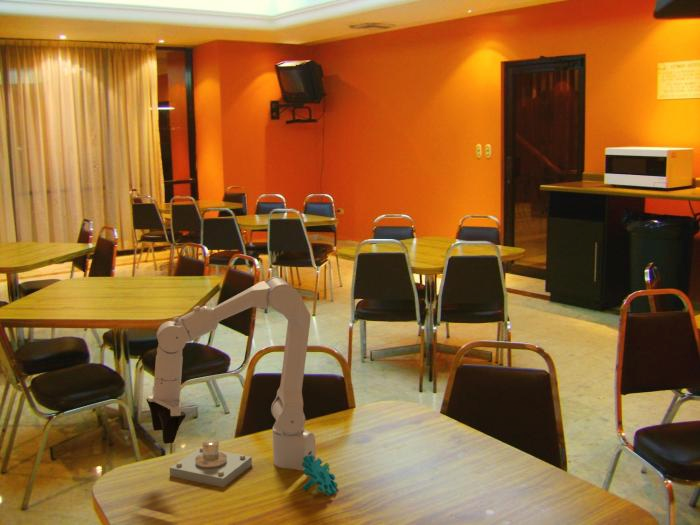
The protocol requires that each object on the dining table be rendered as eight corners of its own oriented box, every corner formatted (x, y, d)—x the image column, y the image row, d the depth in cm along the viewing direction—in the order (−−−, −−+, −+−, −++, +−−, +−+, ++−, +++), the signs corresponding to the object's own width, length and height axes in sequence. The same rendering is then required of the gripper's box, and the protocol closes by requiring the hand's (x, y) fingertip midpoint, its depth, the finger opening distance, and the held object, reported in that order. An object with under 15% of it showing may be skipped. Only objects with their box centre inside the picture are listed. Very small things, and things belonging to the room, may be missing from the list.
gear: (330, 497, 158) (300, 460, 160) (311, 514, 159) (280, 477, 161) (346, 481, 169) (317, 446, 170) (328, 497, 170) (299, 462, 172)
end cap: (233, 466, 174) (232, 439, 173) (216, 479, 168) (215, 451, 167) (207, 461, 177) (206, 435, 176) (189, 474, 171) (188, 446, 169)
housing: (252, 468, 175) (251, 454, 175) (223, 491, 164) (223, 476, 164) (201, 458, 181) (200, 444, 180) (170, 480, 170) (169, 465, 169)
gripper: (140, 367, 170) (136, 425, 171) (159, 388, 157) (154, 450, 159) (171, 366, 173) (167, 423, 175) (192, 386, 161) (187, 447, 163)
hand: (163, 436), depth 167 cm, fingers open, 7 cm apart
